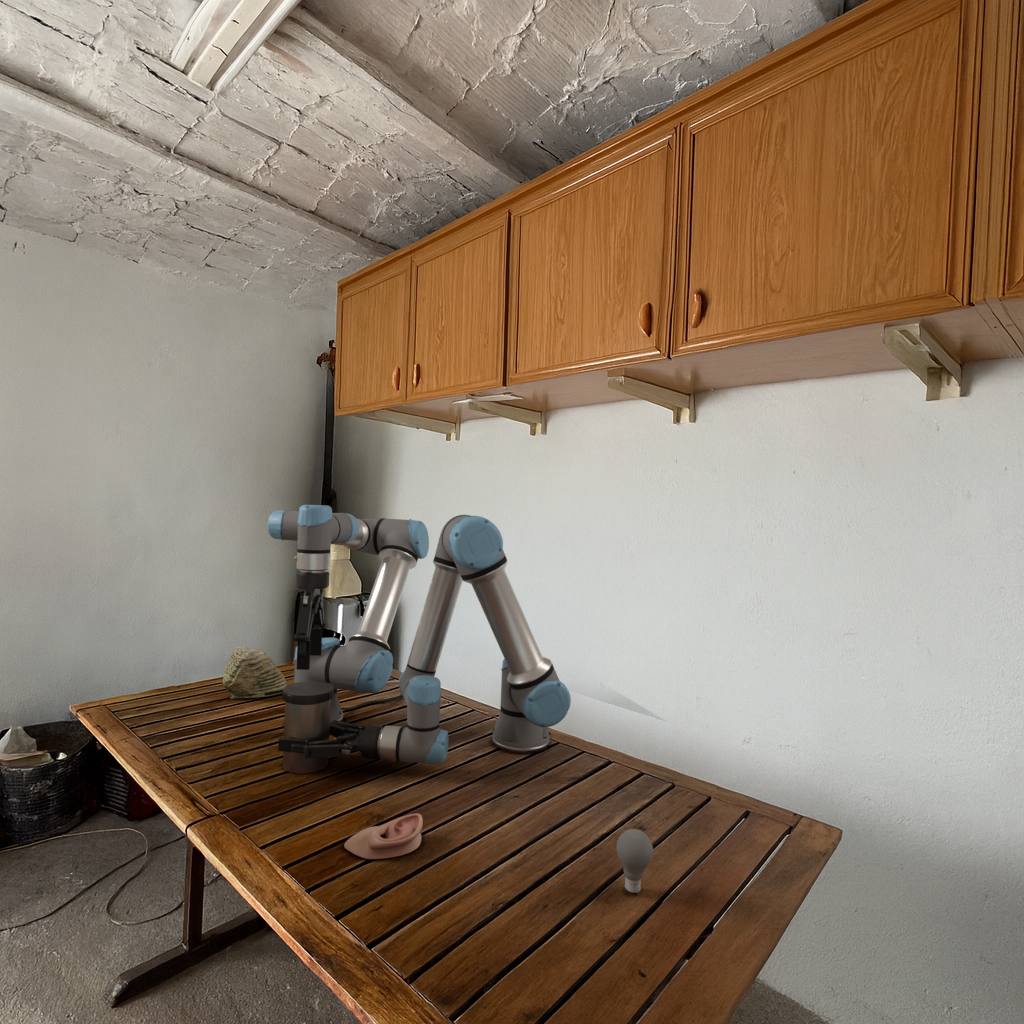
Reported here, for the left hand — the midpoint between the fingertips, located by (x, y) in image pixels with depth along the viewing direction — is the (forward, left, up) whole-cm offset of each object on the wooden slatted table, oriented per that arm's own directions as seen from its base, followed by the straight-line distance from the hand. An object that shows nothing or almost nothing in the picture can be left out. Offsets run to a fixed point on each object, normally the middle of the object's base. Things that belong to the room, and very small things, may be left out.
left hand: (309, 662), depth 149 cm
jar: (0, 0, -24) cm, 24 cm away
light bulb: (-9, +81, -24) cm, 85 cm away
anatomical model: (+10, +40, -24) cm, 48 cm away
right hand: (+2, -4, -18) cm, 18 cm away
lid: (0, 0, -7) cm, 7 cm away
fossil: (-18, -55, -24) cm, 63 cm away
